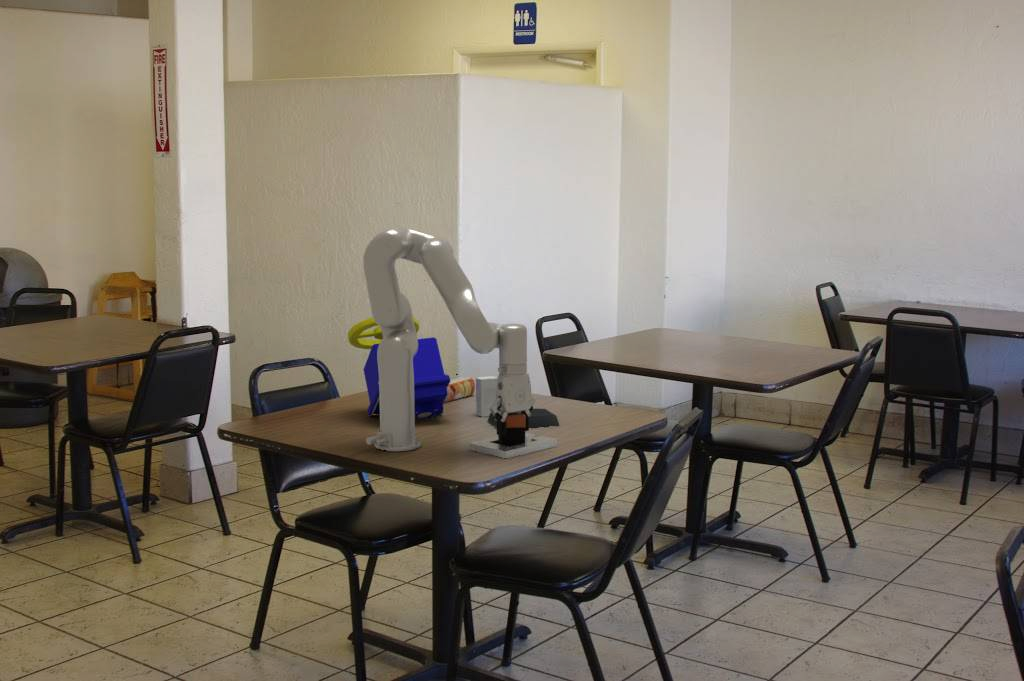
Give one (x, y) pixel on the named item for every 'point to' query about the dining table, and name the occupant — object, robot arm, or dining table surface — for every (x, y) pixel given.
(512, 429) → the battery
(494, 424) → the external hard drive
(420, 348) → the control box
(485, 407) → the skincare box
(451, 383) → the snack package
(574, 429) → the dining table surface
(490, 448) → the plate
